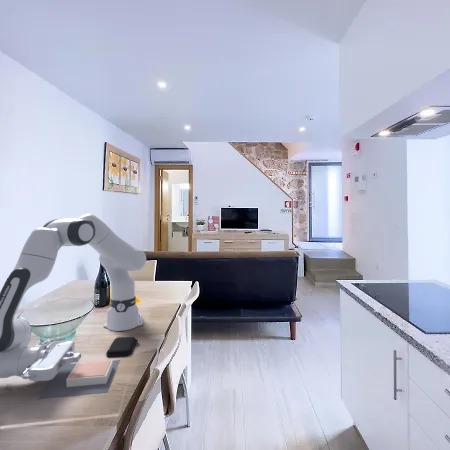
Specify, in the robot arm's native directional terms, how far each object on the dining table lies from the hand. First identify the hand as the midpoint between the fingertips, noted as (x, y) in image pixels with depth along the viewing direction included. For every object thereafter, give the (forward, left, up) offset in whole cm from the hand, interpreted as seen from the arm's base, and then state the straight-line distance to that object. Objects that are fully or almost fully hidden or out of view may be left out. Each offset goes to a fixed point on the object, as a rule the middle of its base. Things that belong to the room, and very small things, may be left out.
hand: (79, 357), depth 98 cm
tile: (0, -3, -6) cm, 6 cm away
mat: (0, +1, -8) cm, 8 cm away
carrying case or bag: (-20, +10, -8) cm, 24 cm away
